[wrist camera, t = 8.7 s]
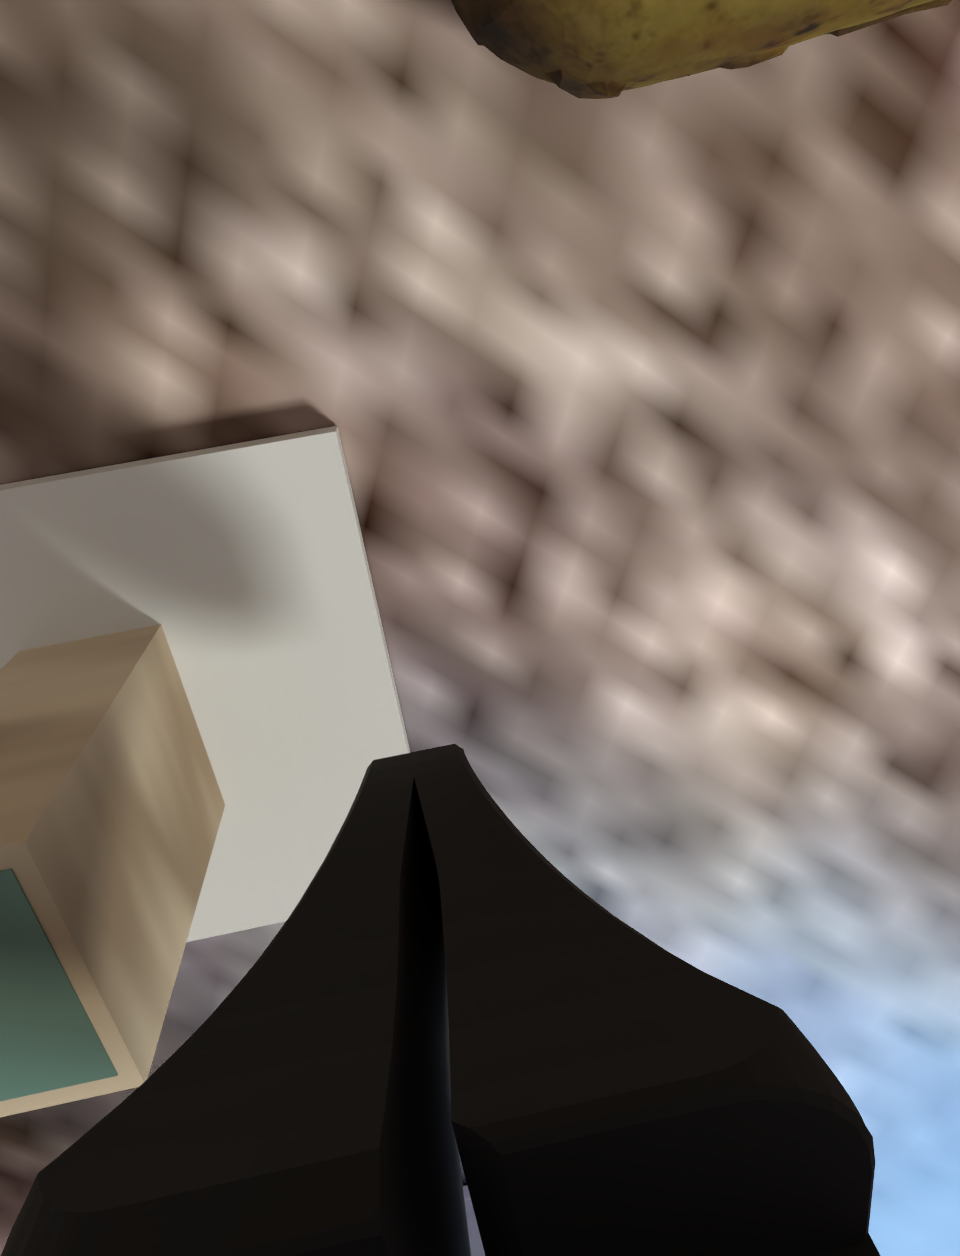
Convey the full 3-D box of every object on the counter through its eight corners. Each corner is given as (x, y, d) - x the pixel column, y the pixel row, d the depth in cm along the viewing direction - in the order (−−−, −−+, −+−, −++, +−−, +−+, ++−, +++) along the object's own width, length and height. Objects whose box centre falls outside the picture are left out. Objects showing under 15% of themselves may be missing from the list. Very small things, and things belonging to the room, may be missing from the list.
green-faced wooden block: (225, 805, 15) (145, 1086, 10) (98, 830, 15) (-53, 1130, 10) (161, 624, 14) (23, 842, 8) (19, 650, 14) (-216, 891, 8)
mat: (436, 870, 18) (438, 888, 17) (-200, 1003, 17) (-219, 1027, 16) (337, 425, 13) (335, 431, 13) (-513, 574, 13) (-553, 587, 12)
